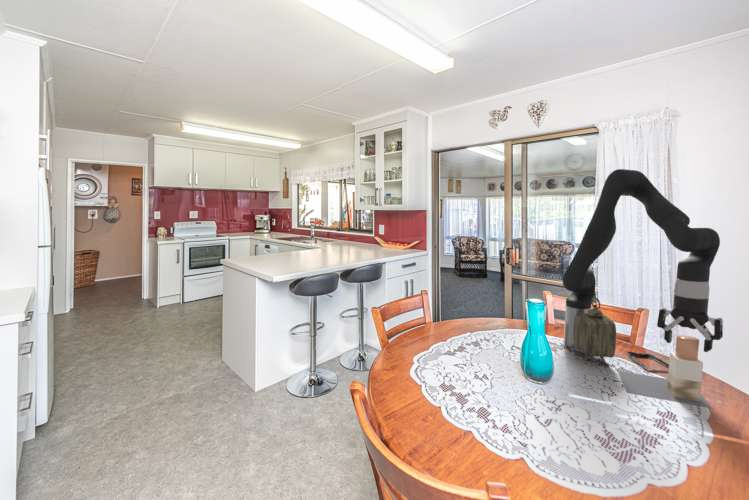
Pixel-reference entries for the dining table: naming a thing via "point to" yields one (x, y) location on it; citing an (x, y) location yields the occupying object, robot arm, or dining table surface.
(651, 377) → the slate mat
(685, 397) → the tower base
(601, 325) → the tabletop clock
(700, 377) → the tower top
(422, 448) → the dining table surface
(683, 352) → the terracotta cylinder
